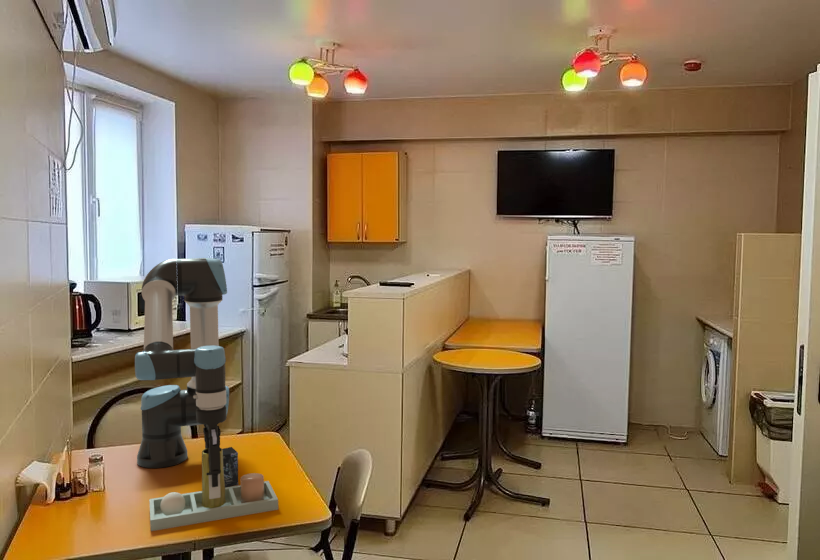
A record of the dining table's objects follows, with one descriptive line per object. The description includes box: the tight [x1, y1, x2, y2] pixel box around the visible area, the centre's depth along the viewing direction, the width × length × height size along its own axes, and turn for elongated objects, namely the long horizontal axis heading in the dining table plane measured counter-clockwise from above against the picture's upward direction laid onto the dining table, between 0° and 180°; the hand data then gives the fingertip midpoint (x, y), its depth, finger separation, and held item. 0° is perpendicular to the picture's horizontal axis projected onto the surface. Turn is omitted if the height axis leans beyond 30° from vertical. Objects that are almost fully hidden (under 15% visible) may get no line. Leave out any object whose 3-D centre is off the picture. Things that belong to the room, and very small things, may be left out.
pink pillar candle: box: [240, 472, 265, 503], centre depth 172 cm, size 6×6×7 cm
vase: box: [201, 447, 226, 508], centre depth 168 cm, size 6×6×14 cm
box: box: [222, 446, 239, 487], centre depth 185 cm, size 8×6×11 cm
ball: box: [160, 491, 185, 516], centre depth 164 cm, size 6×6×6 cm
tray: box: [149, 480, 279, 532], centre depth 169 cm, size 13×31×4 cm, turn 113°
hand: (213, 492), depth 168 cm, fingers closed on vase, 6 cm apart
